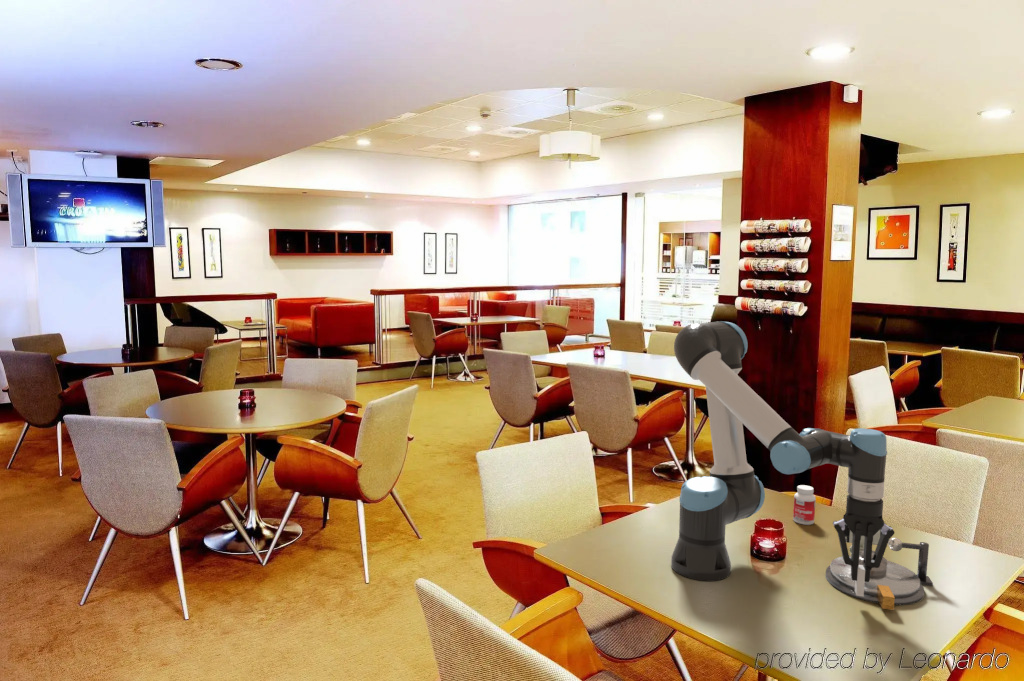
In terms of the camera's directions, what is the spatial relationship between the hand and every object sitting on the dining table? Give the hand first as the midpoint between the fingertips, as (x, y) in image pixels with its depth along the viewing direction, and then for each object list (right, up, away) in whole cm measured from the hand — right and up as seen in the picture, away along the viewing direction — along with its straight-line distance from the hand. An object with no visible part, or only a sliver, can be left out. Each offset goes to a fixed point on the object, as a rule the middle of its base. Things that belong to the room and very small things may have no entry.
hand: (859, 593), depth 162 cm
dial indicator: (+19, -2, +14) cm, 24 cm away
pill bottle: (+9, +3, +53) cm, 54 cm away
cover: (+8, +1, +12) cm, 15 cm away
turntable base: (+10, -2, +12) cm, 15 cm away
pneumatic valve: (+14, 0, +28) cm, 31 cm away
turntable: (+9, -1, +9) cm, 13 cm away
